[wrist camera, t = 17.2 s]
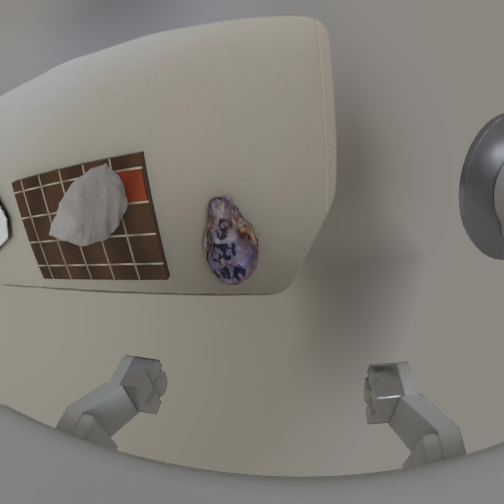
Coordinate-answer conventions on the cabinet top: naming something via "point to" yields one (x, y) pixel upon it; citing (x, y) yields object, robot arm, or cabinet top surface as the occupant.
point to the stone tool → (90, 207)
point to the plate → (3, 226)
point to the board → (102, 252)
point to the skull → (230, 242)
